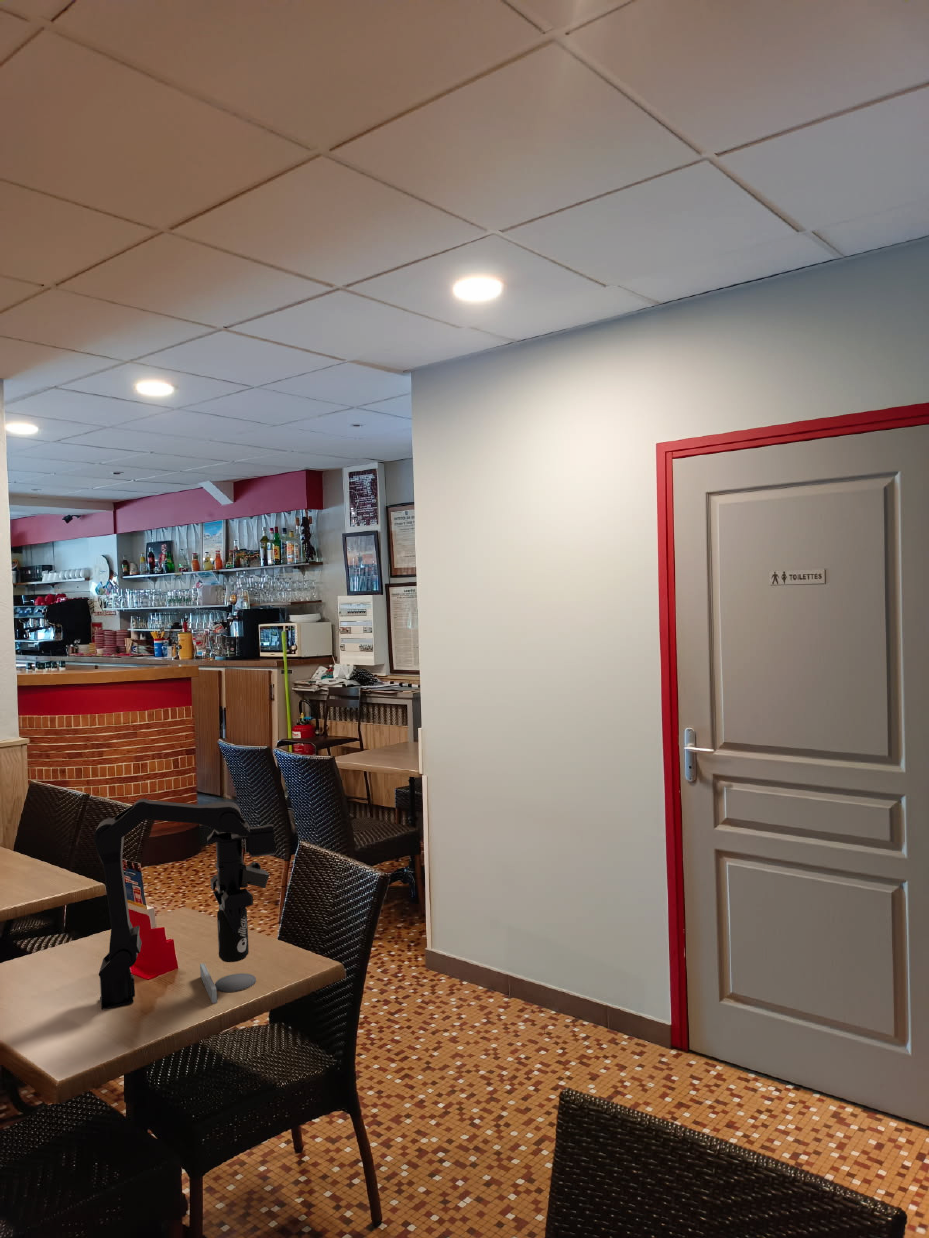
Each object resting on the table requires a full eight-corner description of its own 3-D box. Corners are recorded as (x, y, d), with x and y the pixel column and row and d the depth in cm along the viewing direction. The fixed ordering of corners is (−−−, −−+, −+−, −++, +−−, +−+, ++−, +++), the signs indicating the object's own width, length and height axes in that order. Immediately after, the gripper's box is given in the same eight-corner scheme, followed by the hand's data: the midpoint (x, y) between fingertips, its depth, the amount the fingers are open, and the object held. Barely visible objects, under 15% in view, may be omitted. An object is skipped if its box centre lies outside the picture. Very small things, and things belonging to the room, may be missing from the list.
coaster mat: (218, 995, 198) (218, 993, 198) (212, 980, 207) (211, 978, 207) (259, 986, 202) (259, 984, 202) (251, 972, 210) (251, 970, 210)
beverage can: (231, 965, 200) (229, 911, 200) (212, 959, 204) (210, 906, 204) (254, 955, 205) (252, 903, 205) (236, 949, 209) (234, 898, 209)
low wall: (212, 1003, 194) (211, 989, 194) (200, 976, 209) (200, 963, 209) (217, 1002, 195) (216, 988, 195) (204, 975, 209) (204, 962, 209)
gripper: (274, 863, 199) (277, 933, 199) (256, 844, 216) (259, 909, 216) (223, 871, 194) (226, 943, 194) (208, 851, 211) (211, 917, 211)
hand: (232, 927), depth 204 cm, fingers closed on beverage can, 6 cm apart
